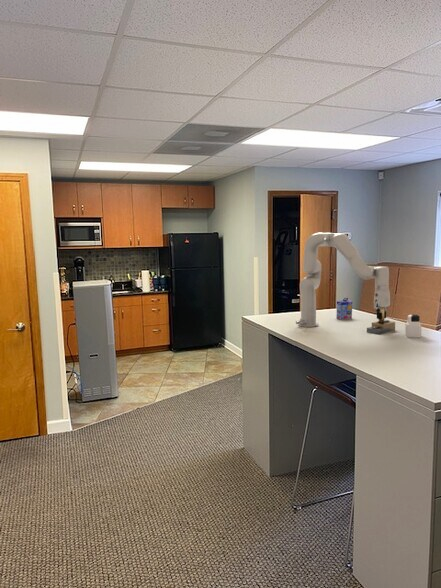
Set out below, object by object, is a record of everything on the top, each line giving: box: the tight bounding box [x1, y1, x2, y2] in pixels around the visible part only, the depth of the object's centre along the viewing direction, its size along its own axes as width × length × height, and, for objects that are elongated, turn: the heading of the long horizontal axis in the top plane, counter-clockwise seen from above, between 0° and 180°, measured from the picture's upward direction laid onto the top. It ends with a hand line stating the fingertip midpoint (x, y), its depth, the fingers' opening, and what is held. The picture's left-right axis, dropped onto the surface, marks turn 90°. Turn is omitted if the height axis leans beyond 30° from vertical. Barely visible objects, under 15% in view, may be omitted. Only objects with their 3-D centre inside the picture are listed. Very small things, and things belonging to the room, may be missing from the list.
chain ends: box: [366, 319, 396, 335], centre depth 250 cm, size 16×8×6 cm, turn 125°
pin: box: [378, 307, 385, 322], centre depth 249 cm, size 3×3×10 cm
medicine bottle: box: [404, 314, 422, 339], centre depth 235 cm, size 7×7×12 cm
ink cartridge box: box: [335, 297, 353, 321], centre depth 291 cm, size 10×6×14 cm, turn 115°
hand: (381, 318), depth 249 cm, fingers closed on pin, 3 cm apart
